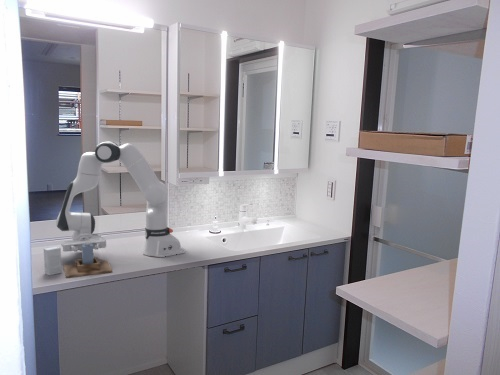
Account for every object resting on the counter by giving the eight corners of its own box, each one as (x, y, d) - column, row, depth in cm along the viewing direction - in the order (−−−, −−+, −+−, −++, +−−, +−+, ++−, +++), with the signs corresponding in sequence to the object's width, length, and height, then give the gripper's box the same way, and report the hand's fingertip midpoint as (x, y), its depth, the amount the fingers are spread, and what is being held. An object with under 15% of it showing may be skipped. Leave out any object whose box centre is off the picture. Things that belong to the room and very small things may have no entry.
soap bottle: (92, 265, 200) (91, 239, 198) (93, 268, 196) (92, 241, 194) (82, 266, 198) (81, 240, 196) (83, 269, 194) (82, 242, 192)
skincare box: (57, 270, 195) (56, 245, 193) (61, 272, 192) (60, 247, 190) (44, 273, 190) (43, 248, 188) (48, 275, 187) (47, 250, 186)
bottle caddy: (107, 262, 209) (107, 254, 208) (112, 272, 195) (112, 264, 194) (63, 267, 200) (63, 259, 199) (66, 278, 185) (65, 269, 185)
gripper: (60, 237, 207) (62, 244, 195) (103, 234, 216) (107, 240, 204) (61, 249, 208) (63, 257, 195) (103, 245, 217) (108, 252, 205)
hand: (86, 248), depth 200 cm, fingers open, 8 cm apart
